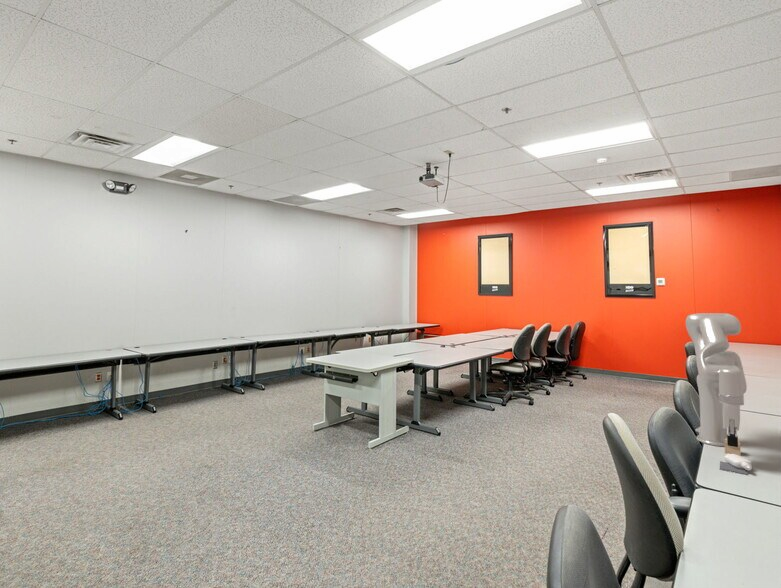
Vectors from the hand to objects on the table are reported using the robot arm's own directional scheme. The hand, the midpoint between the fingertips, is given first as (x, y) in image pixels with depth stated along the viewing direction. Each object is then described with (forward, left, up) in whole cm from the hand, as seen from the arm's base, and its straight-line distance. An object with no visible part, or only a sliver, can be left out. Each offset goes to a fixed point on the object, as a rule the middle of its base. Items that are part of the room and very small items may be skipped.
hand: (732, 445), depth 162 cm
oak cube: (-10, +9, -7) cm, 15 cm away
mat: (+5, -5, -7) cm, 10 cm away
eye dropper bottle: (0, 0, -5) cm, 5 cm away
